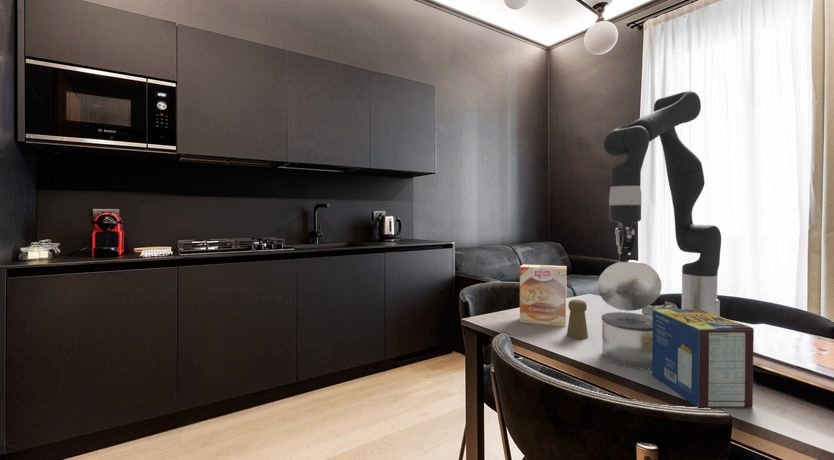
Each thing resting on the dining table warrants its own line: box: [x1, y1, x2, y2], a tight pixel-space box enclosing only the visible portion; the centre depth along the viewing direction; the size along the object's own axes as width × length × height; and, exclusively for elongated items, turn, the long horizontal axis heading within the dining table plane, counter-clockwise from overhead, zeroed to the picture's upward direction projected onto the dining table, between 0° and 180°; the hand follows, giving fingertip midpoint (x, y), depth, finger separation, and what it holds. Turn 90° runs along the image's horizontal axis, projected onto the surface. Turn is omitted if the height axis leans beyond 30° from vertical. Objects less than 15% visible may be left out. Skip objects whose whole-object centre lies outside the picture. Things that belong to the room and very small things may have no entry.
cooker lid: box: [597, 259, 663, 312], centre depth 103 cm, size 15×15×3 cm
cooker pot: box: [601, 311, 653, 370], centre depth 98 cm, size 14×14×10 cm
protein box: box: [651, 308, 755, 409], centre depth 80 cm, size 10×15×16 cm
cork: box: [566, 299, 589, 340], centre depth 116 cm, size 6×6×11 cm
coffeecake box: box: [519, 263, 568, 328], centre depth 131 cm, size 15×7×20 cm, turn 67°
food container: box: [641, 301, 679, 317], centre depth 112 cm, size 12×6×10 cm, turn 117°
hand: (624, 268), depth 102 cm, fingers closed
